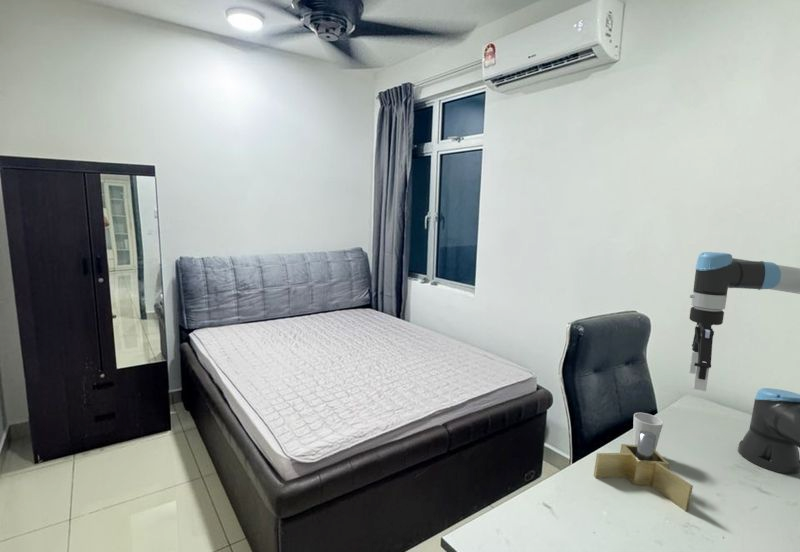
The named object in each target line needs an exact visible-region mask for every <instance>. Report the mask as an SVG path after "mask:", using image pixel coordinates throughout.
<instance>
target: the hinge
mask: <svg viewBox="0 0 800 552" xmlns="http://www.w3.org/2000/svg"><path fill="white" fill-rule="evenodd" d="M637 446H638V445H632V444H624V443H623V444H621V445H620V451H619V452H601V453H600V452H599V453H596V456H595V464H594V471H593V477H594V478H595V479H607V478H606V477H615V478H627V479H628V480H629V481H630V482H631V483H632V484H633V485H634V486H648V487H651V488H653V489H654V490H656V491H657V492H658V493H660V494H662V496H664V497H665V498H667V499H669V500H670V501H671V502H672V503H673V504H675V505H676V506H677V507H679V508H680V509H682V510H683V511H684V512H687V511H689V509H690V503H691V500H692V494H693V488H694V485H693V484H691V483H689V482H688V481H686V480H685V479H683V478H682V477H680V476H679V475H677V474H676V473H675V472H673V471H671V470H670V469H669V468H670V463H669V462H668V461H667V460H666V459H665V458H664V457H663V456H662V455H661V454H660V453H659V452H658V451H657V450H655V449H654V451H653V457H652V461H646V460H638V458H637V457H636V452H637ZM603 477H604V478H603Z"/></svg>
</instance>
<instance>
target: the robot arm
mask: <svg viewBox="0 0 800 552" xmlns="http://www.w3.org/2000/svg"><path fill="white" fill-rule="evenodd" d="M696 260H697V261H696V265H695V273H694V280H693V281H694V283H693V288H692V289H693V292H692V294H690V295H689V298H691V305H692V307H690V310H689V316H688V317H689V320H690V321H691V322H693V323H696V325H695V326H694V335H693V341H692V344H691V347H692V348H691V350H692V351H691V356H690V357H691V358H690V364H689V372H688V373H689V374H693V375H694V380H693V388H692V389H693V390H699V391H703V392H706V391H707V386H708V385H707V384H708V381H709V380H708V378H709V372H710V369H711V368H712V353H713V352H712V351H713V341H714V340H713V339H714V335H715V331H714V330H713V328H712V326H720V325H722V324H723V322H724V318H725V317H724V315H725V312H724V310H725V309H726V303H727V298H728V289H747V290H758V291H761V290H773V291H779V292H786V293H792V294H798V295H800V267H794V266H788V265H780V264H776V263H775V262H772V261H763V260H760V261H757V260H755V261H754V260H747V259H742V258H741V259H740V258H734V257H733V255H732V254H731V253H726V252H714V251H704V252H700V253H699V254H698V257H697V259H696ZM799 449H800V393H797V392H793V391H790V390H789V391H788V390H783V389H777V388H770V387H769V388H768V387H765V388H764V387H763V388H760V389H759V390H757V392H756V396H755V398H754V403H753V408H752V413H751V420H750V425H749V429H748V430H747V432H746V433H745V435H744V437H743V439H742V440H740V441H739V443H738V446H737V451H738V452H737V453H739V455H741V456H742V457H743V458H744V459H746V460H747V461H749V462H750V463H753V464H755V465H757V466H758V467H760V468H764V469H767V470H770V471H773V472H777V473H779V474H780V473H781V474H789V475H794V474H795V475H796V474H799V473H800V451H799Z"/></svg>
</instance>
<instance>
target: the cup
mask: <svg viewBox="0 0 800 552" xmlns="http://www.w3.org/2000/svg"><path fill="white" fill-rule="evenodd" d="M632 424H633V426H632V427H633V429H632V441H631V443H632V444H631V445H638V440H639V433H640V431H648V432H651V433H653V434H655V436H656V439H655V445H654V449H655V450H656V449H657V446H658V444H659V439H660V435H661V433H662V428H663V426H664V421H663V420H662V419H660V418H659V417H658V416H656V415H653V414H650V413H645V412H635V413H634V414H633V423H632ZM656 451H657V450H656Z"/></svg>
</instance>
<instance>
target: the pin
mask: <svg viewBox="0 0 800 552" xmlns="http://www.w3.org/2000/svg"><path fill="white" fill-rule="evenodd" d="M655 439H656V436H655V434H653V433H651V432H648V431H640V433H639V440H638V446H637V452H636V457H637V458H638V460H646V461H652V457H653V451H654V445H655Z"/></svg>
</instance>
